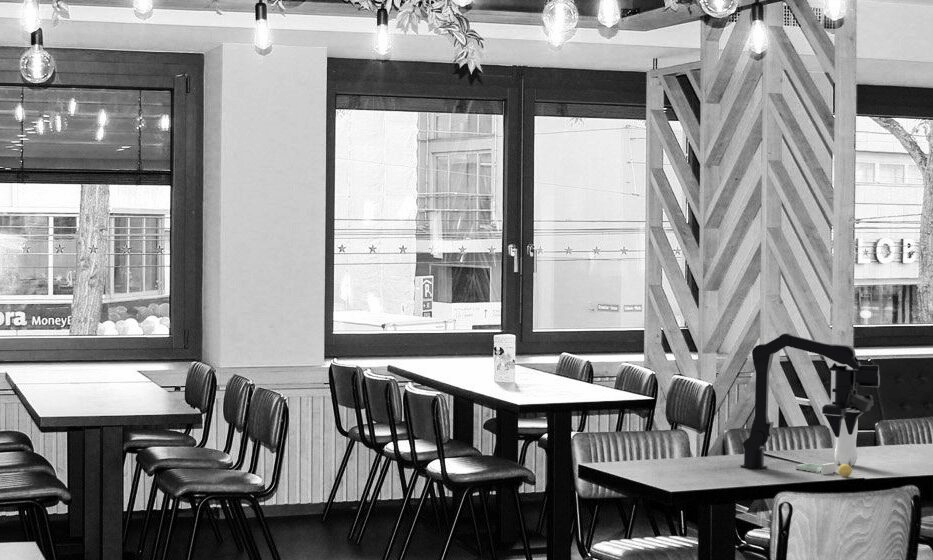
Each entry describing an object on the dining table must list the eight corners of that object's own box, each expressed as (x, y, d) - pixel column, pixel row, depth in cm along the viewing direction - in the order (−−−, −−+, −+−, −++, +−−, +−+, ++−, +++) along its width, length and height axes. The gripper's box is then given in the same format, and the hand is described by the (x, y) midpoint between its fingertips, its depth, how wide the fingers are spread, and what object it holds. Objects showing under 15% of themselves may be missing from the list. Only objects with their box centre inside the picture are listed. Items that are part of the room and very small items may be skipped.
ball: (847, 478, 360) (848, 465, 360) (835, 476, 363) (836, 463, 363) (854, 477, 363) (854, 464, 363) (842, 475, 366) (842, 462, 366)
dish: (816, 472, 369) (817, 468, 369) (795, 469, 375) (795, 465, 375) (829, 470, 374) (829, 466, 374) (808, 467, 380) (808, 463, 380)
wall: (824, 474, 366) (824, 465, 366) (821, 474, 367) (821, 464, 367) (835, 472, 371) (835, 463, 371) (832, 472, 372) (833, 462, 372)
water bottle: (858, 467, 383) (860, 390, 383) (835, 466, 384) (837, 389, 384) (855, 463, 390) (857, 388, 390) (833, 462, 391) (835, 387, 391)
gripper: (856, 389, 353) (855, 441, 353) (882, 385, 367) (881, 435, 367) (821, 386, 360) (820, 437, 360) (848, 383, 374) (847, 432, 374)
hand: (843, 435), depth 365 cm, fingers open, 9 cm apart
